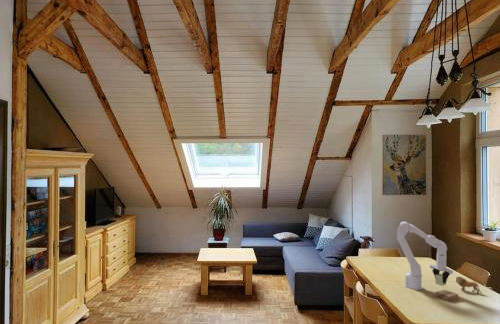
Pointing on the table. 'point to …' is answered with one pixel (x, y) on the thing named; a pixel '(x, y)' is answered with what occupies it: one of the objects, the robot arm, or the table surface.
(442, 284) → the sage block
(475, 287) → the lion figurine
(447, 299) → the walnut block
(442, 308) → the table surface
